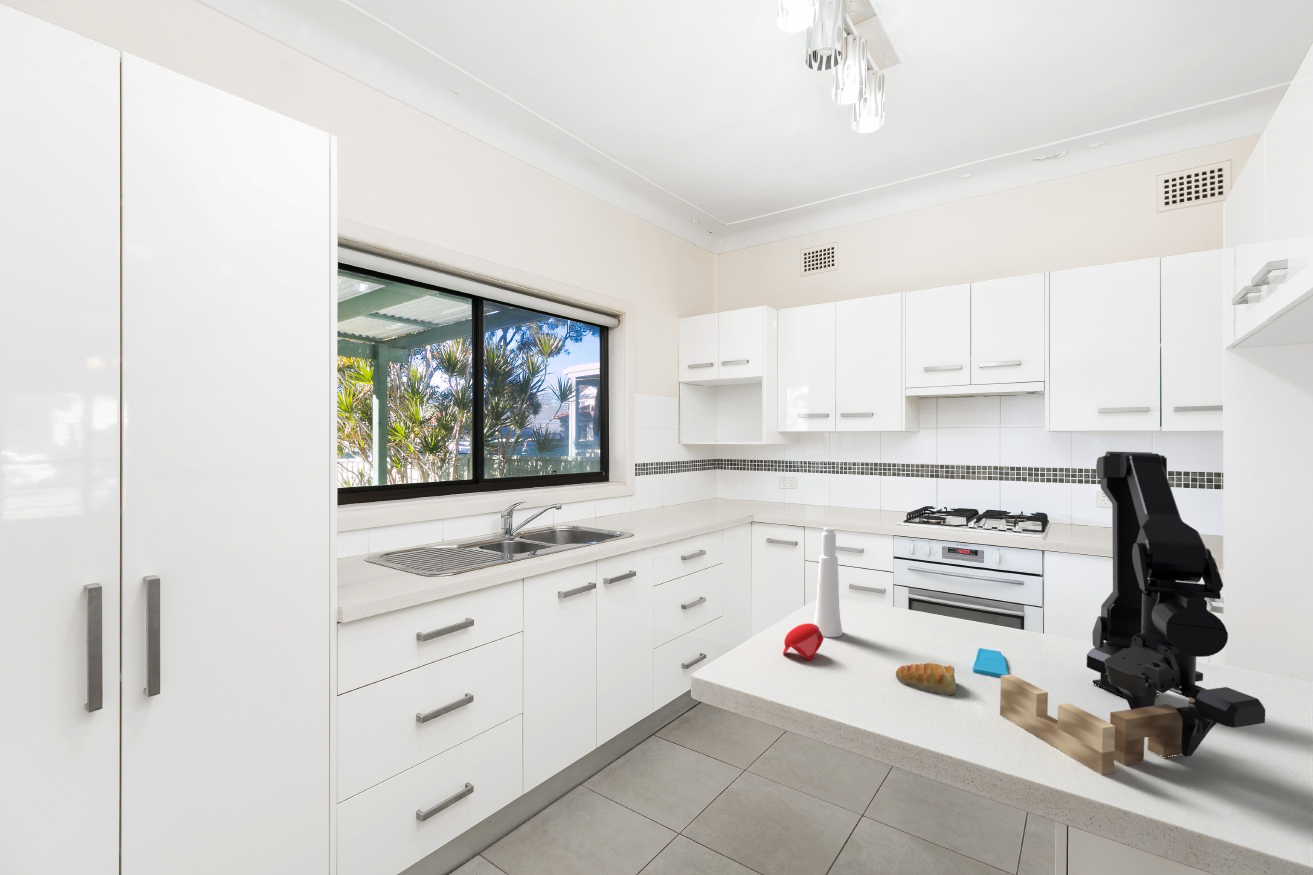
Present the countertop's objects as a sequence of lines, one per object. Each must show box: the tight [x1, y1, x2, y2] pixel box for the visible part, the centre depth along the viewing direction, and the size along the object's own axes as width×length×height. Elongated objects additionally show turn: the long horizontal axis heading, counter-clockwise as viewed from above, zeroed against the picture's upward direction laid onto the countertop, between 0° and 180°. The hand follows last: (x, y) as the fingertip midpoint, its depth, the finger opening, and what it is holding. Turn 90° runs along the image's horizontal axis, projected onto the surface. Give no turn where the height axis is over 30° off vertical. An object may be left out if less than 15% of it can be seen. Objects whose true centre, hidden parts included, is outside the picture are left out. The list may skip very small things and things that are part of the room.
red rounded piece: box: [782, 622, 824, 661], centre depth 114 cm, size 8×6×6 cm
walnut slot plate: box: [1109, 703, 1182, 766], centre depth 81 cm, size 10×2×6 cm, turn 104°
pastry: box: [895, 662, 957, 696], centre depth 103 cm, size 9×7×4 cm
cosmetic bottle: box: [813, 526, 843, 638], centre depth 127 cm, size 6×6×22 cm
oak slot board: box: [999, 673, 1115, 776], centre depth 84 cm, size 16×2×6 cm, turn 14°
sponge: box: [972, 647, 1010, 679], centre depth 111 cm, size 2×12×6 cm
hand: (1164, 744), depth 82 cm, fingers open, 5 cm apart
